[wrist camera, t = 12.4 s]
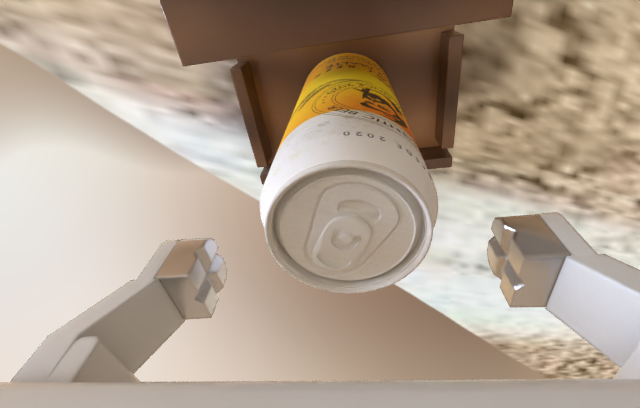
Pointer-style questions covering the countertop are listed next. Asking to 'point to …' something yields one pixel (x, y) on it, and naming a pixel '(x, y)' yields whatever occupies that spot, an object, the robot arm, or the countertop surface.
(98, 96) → the countertop surface
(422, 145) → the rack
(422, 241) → the beer can
